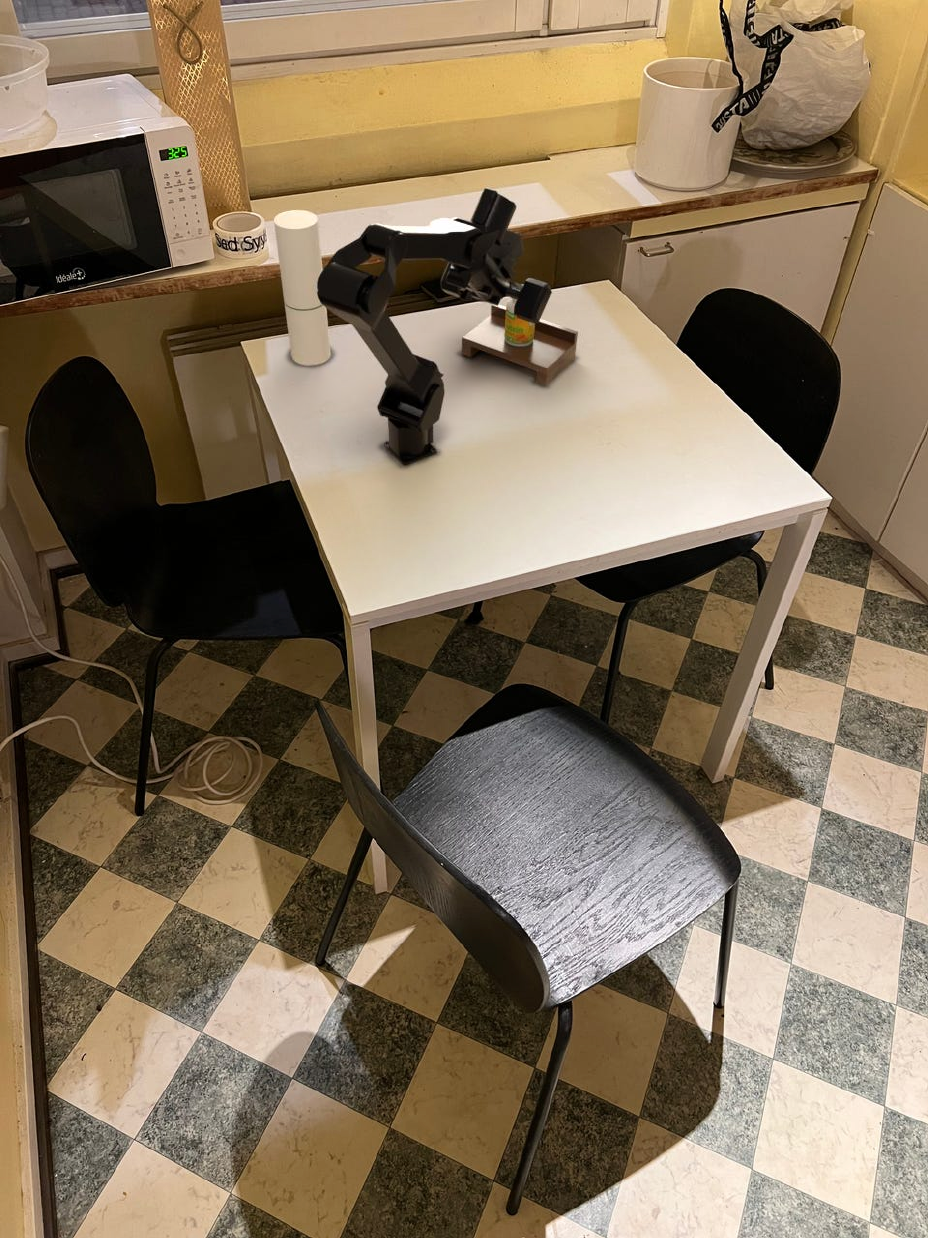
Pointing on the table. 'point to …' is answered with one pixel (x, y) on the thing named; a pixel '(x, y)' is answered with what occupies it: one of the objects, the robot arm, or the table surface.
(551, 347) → the shelf
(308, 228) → the cylindrical container
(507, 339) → the supplement bottle
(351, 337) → the table surface
